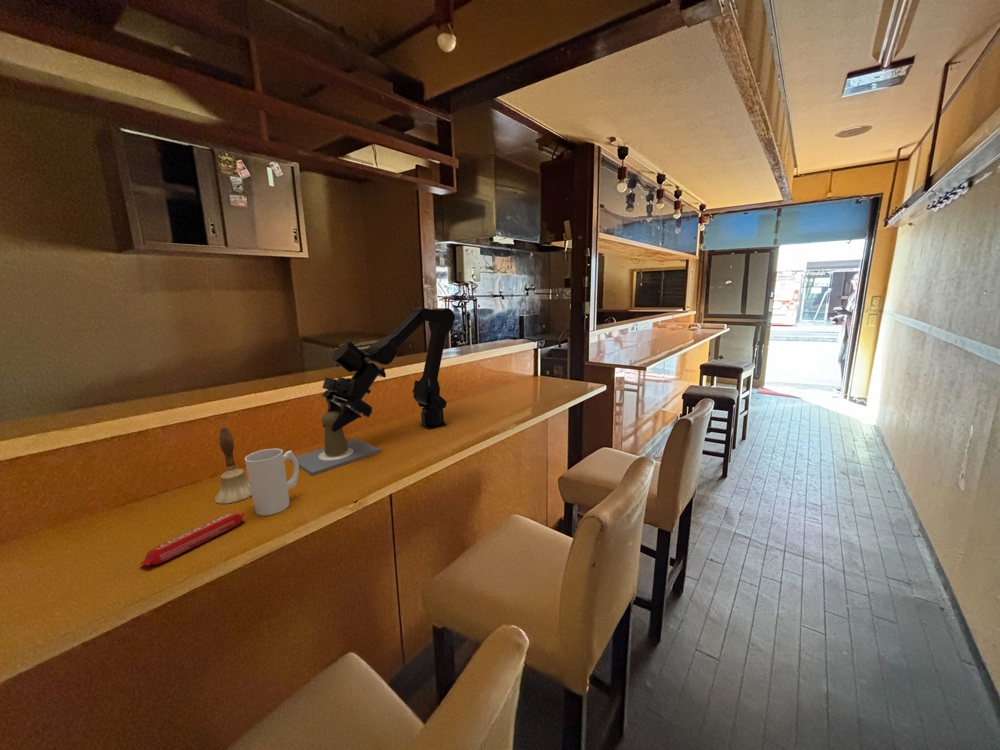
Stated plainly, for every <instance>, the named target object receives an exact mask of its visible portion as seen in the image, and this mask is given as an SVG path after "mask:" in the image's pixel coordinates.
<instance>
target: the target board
mask: <svg viewBox="0 0 1000 750" xmlns="http://www.w3.org/2000/svg"><path fill="white" fill-rule="evenodd" d="M346 443H347V446H348V450H347V451H346V452H344V453H341V454H337V455H327V454H325V447H323V448H321V449H317V450H314V451H311V452H308V453H304V454H301V455H298V456H295V457H296V459H297V460H298V463H299V469H302V470H303V471H305V472H307V474H309V475H311V476H316V475H318V474H322V473H323V472H324V471H325V472H326V471H330V470H333V469H335V468H339V467H341V465H342V466H344V465H347V464H349V463H353V462H355V460H356V461H358V459H359V460H361V459H363V458H367V457H369V456H370V457H371V456H372V454H373V455H375V453H376V454H377V453H380V452H381V448H379V447H376V446H374V445H372V444H370V443H367V442H364V441H363V440H360V439H358V438H352V439H350V440H346ZM289 461H290V463H292V461H291V460H289ZM338 466H339V467H338ZM329 469H330V470H329ZM321 472H322V473H321Z"/></svg>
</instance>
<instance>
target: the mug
mask: <svg viewBox="0 0 1000 750" xmlns="http://www.w3.org/2000/svg"><path fill="white" fill-rule="evenodd" d="M296 457H297V456H296V455H295V454H294V453H293V450H288V451H286V452H284V450H283V449H281V448H277V447H276V448H267V449H260V450H257V451H254V452H252V453H250V454H247V455H246V456H245V457H244V461H245V462H244V463H245V467H246V473H247V476H248V478H247V479H248V481H249V482H250V487H251V492H252V496H251V497H252V501H253V506H254V509H255V513H256V515H258V516H265V517H266V516H272V515H275V514H279V513H281V512H283V511H285V510H286V509H287V508H288V507H289V506H290V496H289V490H290V489H291V488H294V487H295V486H297V484H298V479H299V474H300V467H299V463H298V460H297V459H296ZM287 460H289V461H290V460H291V461H292V462H291V461H290V462H291V463H292V464H293V465H292V466H293V472H292V476H291V478H290V479H289V480H287V474H286V466H285V461H287Z"/></svg>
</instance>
